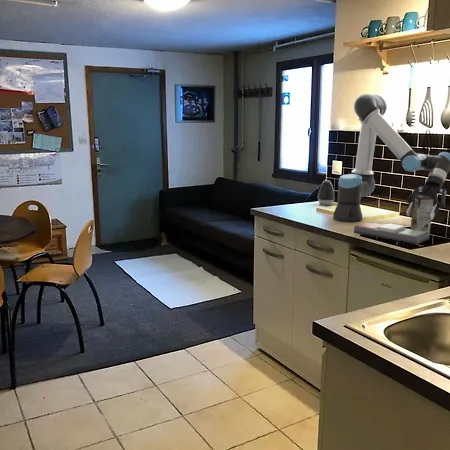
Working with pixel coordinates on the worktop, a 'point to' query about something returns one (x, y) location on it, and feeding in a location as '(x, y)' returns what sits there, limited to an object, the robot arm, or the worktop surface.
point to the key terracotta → (370, 225)
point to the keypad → (392, 235)
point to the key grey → (391, 228)
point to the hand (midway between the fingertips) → (419, 216)
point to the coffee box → (421, 213)
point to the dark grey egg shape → (326, 193)
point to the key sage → (411, 232)
